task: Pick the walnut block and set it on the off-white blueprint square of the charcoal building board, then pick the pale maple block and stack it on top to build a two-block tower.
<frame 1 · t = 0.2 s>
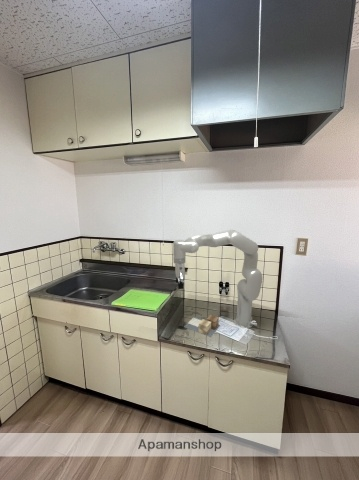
hand: (179, 285, 141), 30 cm above the counter, tool pointing down, fingers open, 9 cm apart
walnut block: (212, 326, 148), point 1 cm above the counter, touching build board
build board: (202, 326, 149), on the counter
maple block: (204, 331, 143), point 1 cm above the counter, touching build board
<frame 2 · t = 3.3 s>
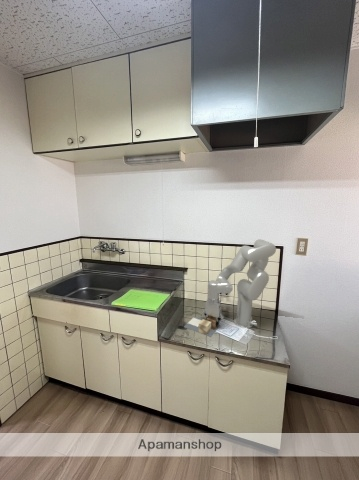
hand: (212, 323, 148), 2 cm above the counter, tool pointing down, fingers closed on walnut block, 6 cm apart
walnut block: (212, 326, 148), point 1 cm above the counter, touching build board, gripper
everything else where it was.
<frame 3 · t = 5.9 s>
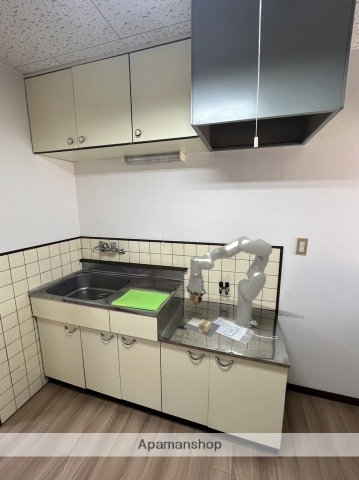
hand: (195, 300, 150), 17 cm above the counter, tool pointing down, fingers closed on walnut block, 5 cm apart
walnut block: (195, 302, 150), point 16 cm above the counter, touching gripper
everything else where it was.
when the fingers open (4 cm above the counter, at t = 8.8 s): walnut block drops 1 cm, resting on build board.
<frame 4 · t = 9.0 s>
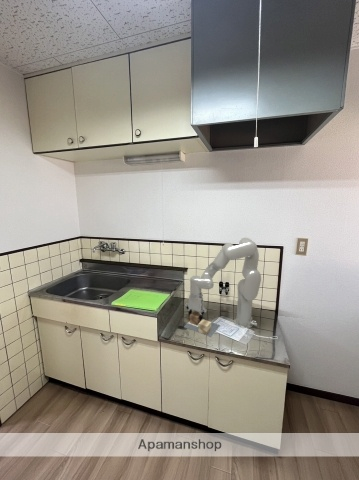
hand: (195, 317, 152), 4 cm above the counter, tool pointing down, fingers open, 8 cm apart
walnut block: (195, 322, 153), point 1 cm above the counter, touching build board
everything else where it was.
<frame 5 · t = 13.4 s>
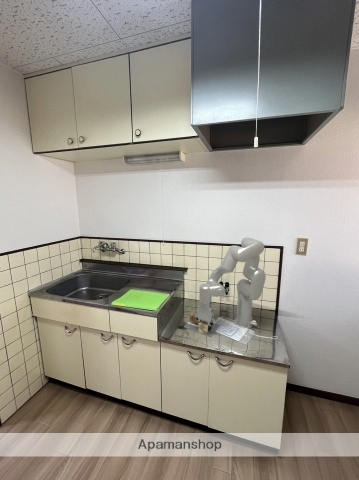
hand: (204, 328, 143), 2 cm above the counter, tool pointing down, fingers closed on maple block, 6 cm apart
maple block: (204, 331, 143), point 1 cm above the counter, touching build board, gripper
everything else where it was.
when the fingers open (10 cm above the counter, at t = 18.9 s): maple block drops 1 cm, resting on walnut block.
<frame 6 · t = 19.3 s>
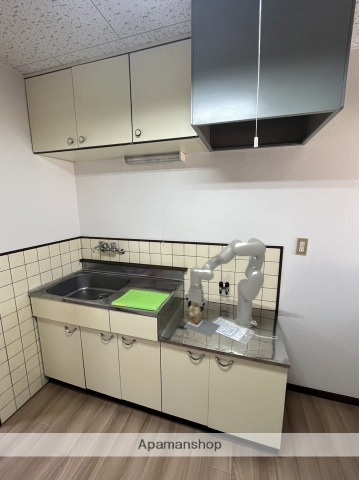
hand: (195, 308, 151), 11 cm above the counter, tool pointing down, fingers open, 9 cm apart
walnut block: (195, 322, 153), point 1 cm above the counter, touching build board, maple block
maple block: (195, 314, 152), point 7 cm above the counter, touching walnut block
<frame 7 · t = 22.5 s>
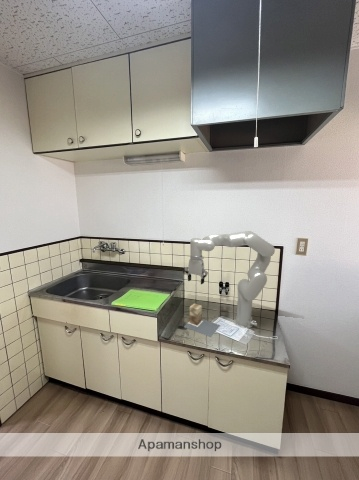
hand: (195, 282, 147), 30 cm above the counter, tool pointing down, fingers open, 9 cm apart
nothing on the counter moved.
at the end: walnut block 0.1 cm from the target spot, point 0.7 cm above the counter; maple block 0.0 cm off-centre on the walnut block, point 6.0 cm above the walnut block's base; maple block tilted 0° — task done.
